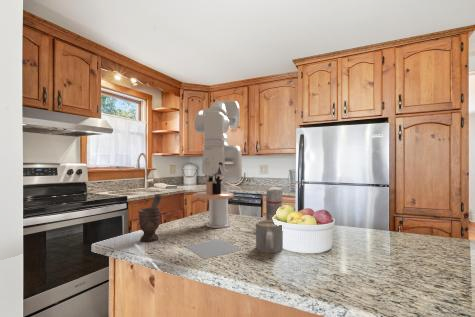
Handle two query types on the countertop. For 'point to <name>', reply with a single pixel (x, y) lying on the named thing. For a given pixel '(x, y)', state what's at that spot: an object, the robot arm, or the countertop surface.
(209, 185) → the lid
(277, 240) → the coffee mug
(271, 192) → the spray can
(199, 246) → the mat
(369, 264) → the countertop surface
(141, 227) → the mortar and pestle
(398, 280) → the countertop surface
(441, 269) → the countertop surface
